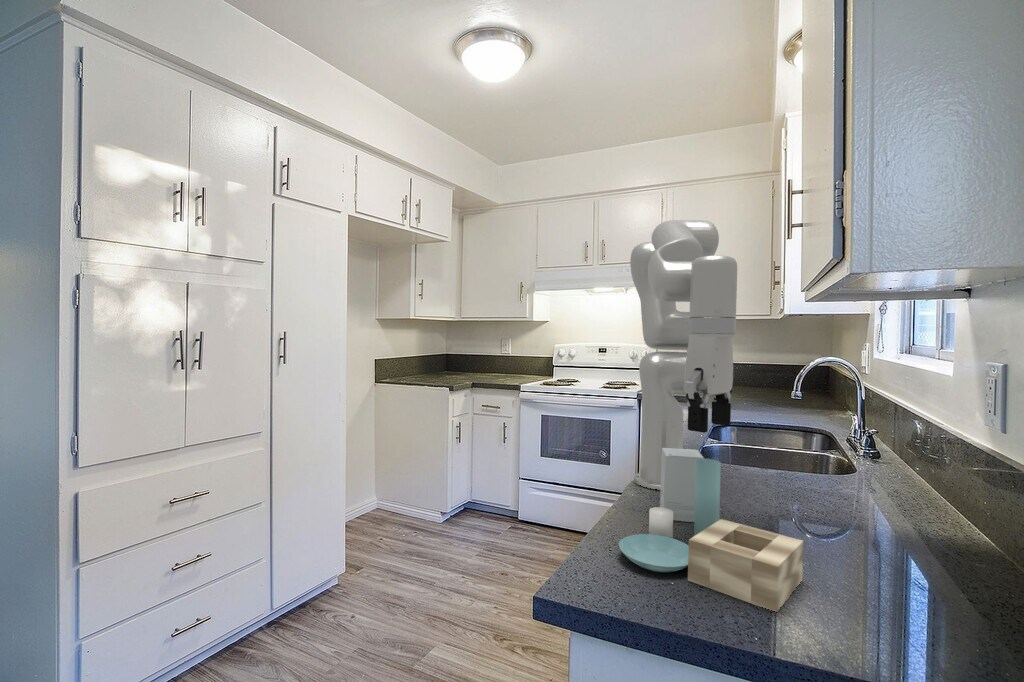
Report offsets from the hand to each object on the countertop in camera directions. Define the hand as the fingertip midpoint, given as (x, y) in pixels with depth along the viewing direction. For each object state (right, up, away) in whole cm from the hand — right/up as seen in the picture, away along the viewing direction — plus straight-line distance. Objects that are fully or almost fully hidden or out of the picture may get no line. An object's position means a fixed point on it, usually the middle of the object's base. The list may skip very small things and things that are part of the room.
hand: (709, 427), depth 89 cm
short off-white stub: (-8, -20, +1) cm, 21 cm away
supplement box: (-1, -20, +13) cm, 24 cm away
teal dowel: (0, -20, +1) cm, 20 cm away
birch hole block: (0, -20, -14) cm, 24 cm away
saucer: (-11, -20, -8) cm, 24 cm away
